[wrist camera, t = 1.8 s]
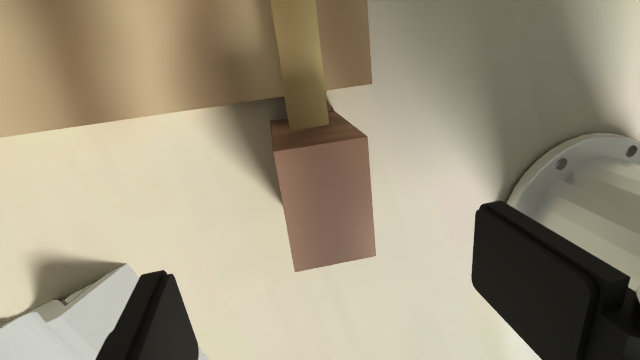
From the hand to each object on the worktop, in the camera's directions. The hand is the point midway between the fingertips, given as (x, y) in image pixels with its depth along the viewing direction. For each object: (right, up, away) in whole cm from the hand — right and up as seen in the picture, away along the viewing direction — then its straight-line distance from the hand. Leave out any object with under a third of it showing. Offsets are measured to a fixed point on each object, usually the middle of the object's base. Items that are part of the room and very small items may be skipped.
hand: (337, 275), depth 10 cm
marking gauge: (-2, +8, +10) cm, 13 cm away
